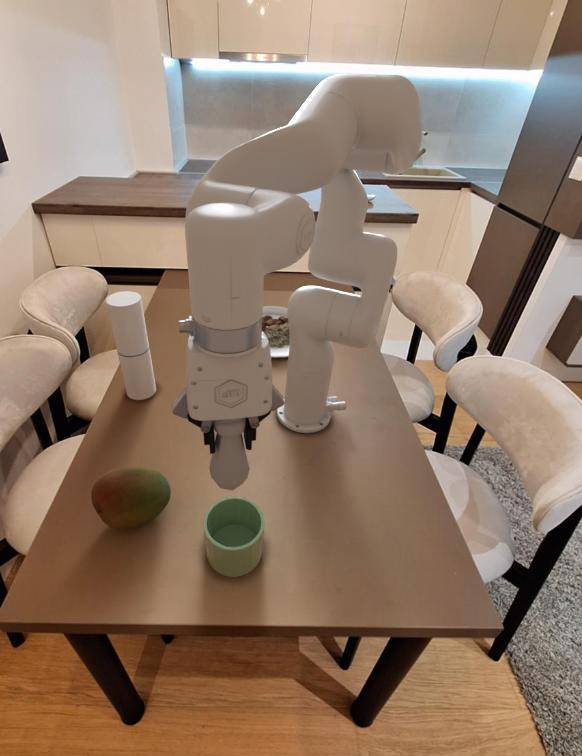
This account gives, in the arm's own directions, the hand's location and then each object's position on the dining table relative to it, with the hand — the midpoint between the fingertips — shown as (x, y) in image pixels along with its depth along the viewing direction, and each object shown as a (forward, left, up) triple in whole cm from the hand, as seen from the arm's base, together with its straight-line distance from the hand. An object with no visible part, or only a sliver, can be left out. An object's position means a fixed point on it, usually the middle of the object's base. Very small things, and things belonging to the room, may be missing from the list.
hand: (229, 443), depth 55 cm
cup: (0, +2, -23) cm, 23 cm away
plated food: (-20, -66, -23) cm, 72 cm away
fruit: (+16, -8, -23) cm, 29 cm away
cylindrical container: (+18, -43, -23) cm, 52 cm away
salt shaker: (0, 0, -8) cm, 8 cm away
